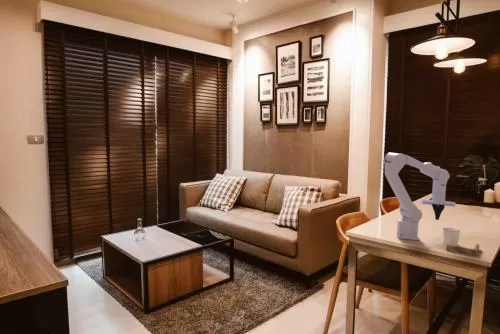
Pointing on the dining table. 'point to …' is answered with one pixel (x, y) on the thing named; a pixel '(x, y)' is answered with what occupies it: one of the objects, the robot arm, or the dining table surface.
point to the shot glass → (451, 236)
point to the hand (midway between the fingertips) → (437, 219)
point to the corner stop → (463, 250)
